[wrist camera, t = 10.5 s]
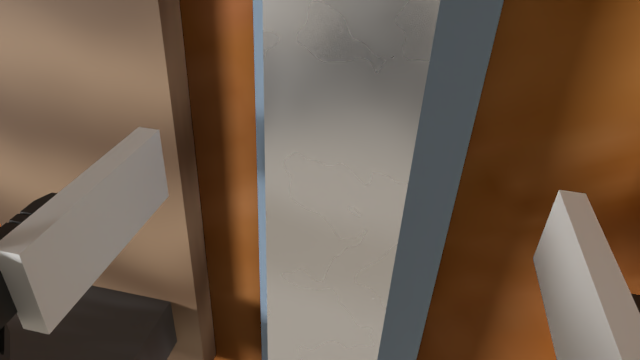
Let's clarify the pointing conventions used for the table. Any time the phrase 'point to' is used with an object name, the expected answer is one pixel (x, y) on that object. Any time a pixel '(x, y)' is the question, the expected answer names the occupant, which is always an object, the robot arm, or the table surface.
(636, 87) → the table surface
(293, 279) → the rail
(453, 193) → the mat
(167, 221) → the wooden stand
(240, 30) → the table surface
